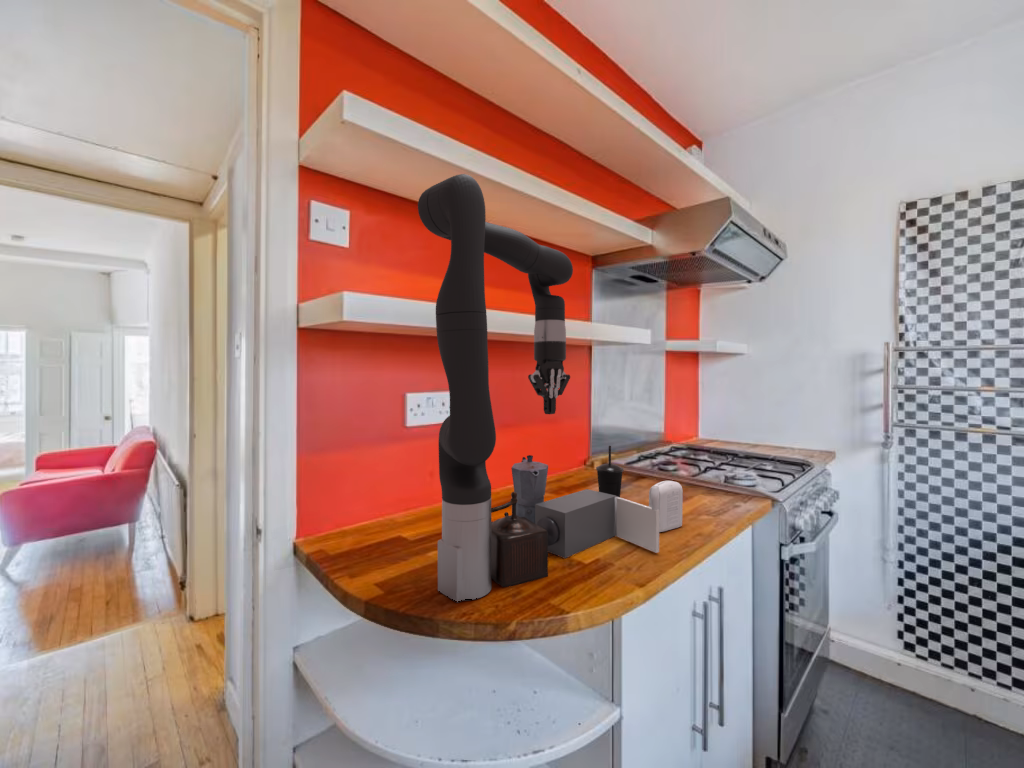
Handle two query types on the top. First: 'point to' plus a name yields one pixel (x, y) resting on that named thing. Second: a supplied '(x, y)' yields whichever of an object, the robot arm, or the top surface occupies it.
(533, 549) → the coffee grinder
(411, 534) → the top surface
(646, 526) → the side door
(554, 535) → the camera housing
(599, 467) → the drinking cup
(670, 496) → the photo printer
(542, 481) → the moka pot
